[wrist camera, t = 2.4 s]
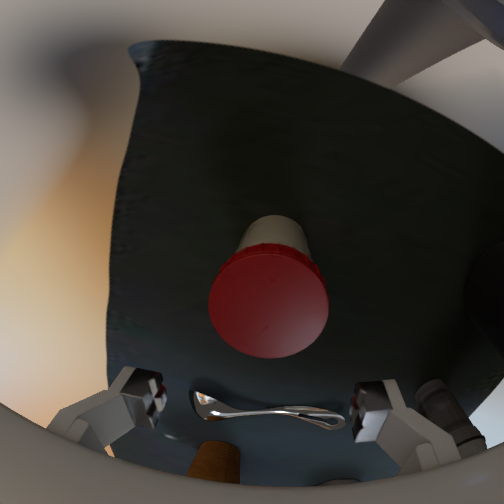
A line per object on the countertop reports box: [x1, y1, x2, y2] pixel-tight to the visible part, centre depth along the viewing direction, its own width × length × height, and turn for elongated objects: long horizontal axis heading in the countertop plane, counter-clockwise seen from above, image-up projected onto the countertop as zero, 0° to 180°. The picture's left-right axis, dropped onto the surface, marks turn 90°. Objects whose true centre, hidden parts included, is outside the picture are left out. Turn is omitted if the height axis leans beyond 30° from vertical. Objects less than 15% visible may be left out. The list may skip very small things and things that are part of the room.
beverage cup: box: [415, 379, 487, 459], centre depth 20 cm, size 7×7×20 cm
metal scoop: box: [189, 390, 346, 430], centre depth 31 cm, size 20×4×5 cm
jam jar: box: [235, 215, 314, 263], centre depth 21 cm, size 6×6×11 cm
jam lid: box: [209, 242, 329, 358], centre depth 16 cm, size 7×7×2 cm
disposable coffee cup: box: [186, 441, 240, 484], centre depth 31 cm, size 10×10×12 cm
